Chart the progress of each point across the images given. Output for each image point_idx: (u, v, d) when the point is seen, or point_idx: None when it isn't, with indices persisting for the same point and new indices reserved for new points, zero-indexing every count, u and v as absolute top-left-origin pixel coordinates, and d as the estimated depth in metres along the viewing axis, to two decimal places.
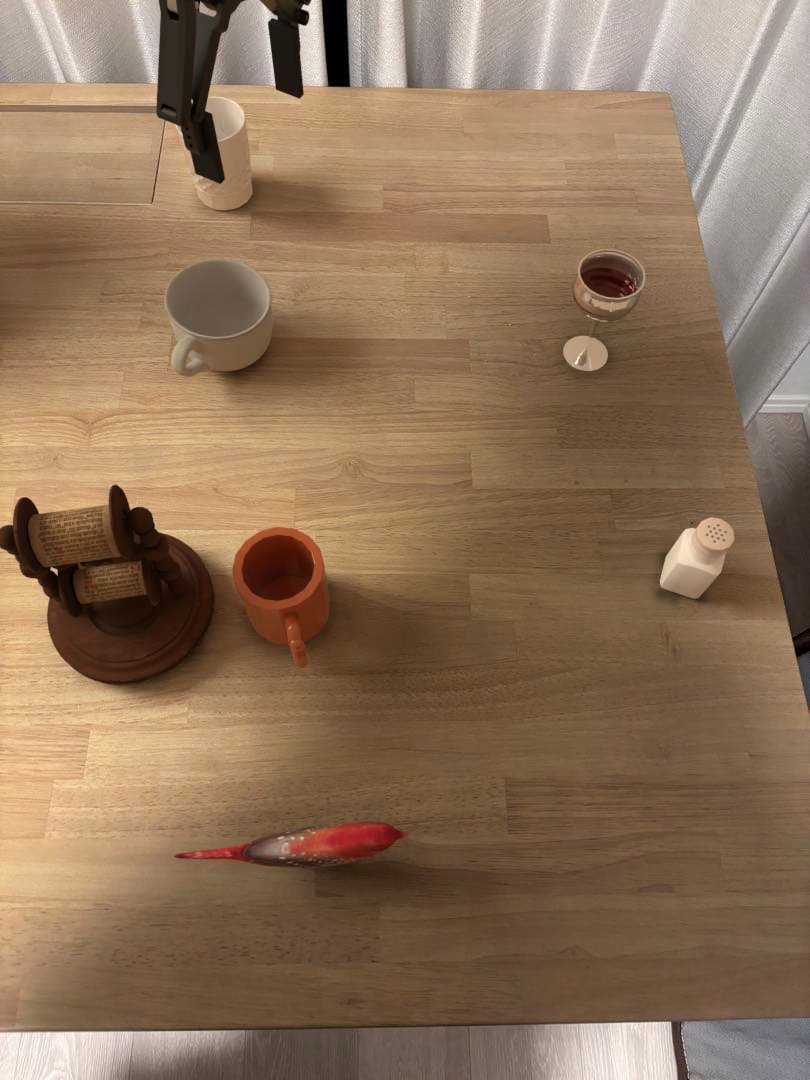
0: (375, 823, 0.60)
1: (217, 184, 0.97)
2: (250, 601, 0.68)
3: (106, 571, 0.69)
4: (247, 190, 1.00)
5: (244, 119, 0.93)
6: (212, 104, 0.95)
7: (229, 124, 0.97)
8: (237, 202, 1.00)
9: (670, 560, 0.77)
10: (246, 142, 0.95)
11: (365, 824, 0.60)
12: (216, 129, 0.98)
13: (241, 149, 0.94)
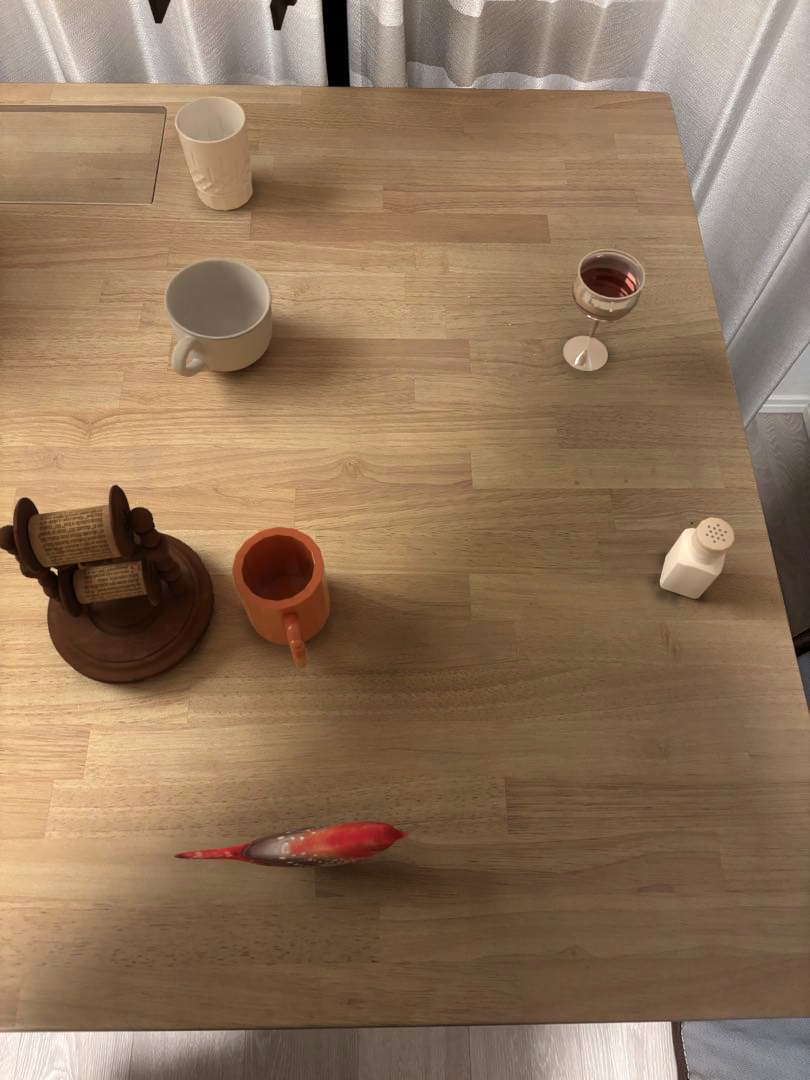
0: (375, 823, 0.60)
1: (217, 184, 0.97)
2: (250, 601, 0.68)
3: (106, 571, 0.69)
4: (247, 190, 1.00)
5: (244, 119, 0.93)
6: (212, 104, 0.95)
7: (229, 124, 0.97)
8: (237, 202, 1.00)
9: (670, 560, 0.77)
10: (246, 142, 0.95)
11: (365, 824, 0.60)
12: (216, 129, 0.98)
13: (241, 149, 0.94)
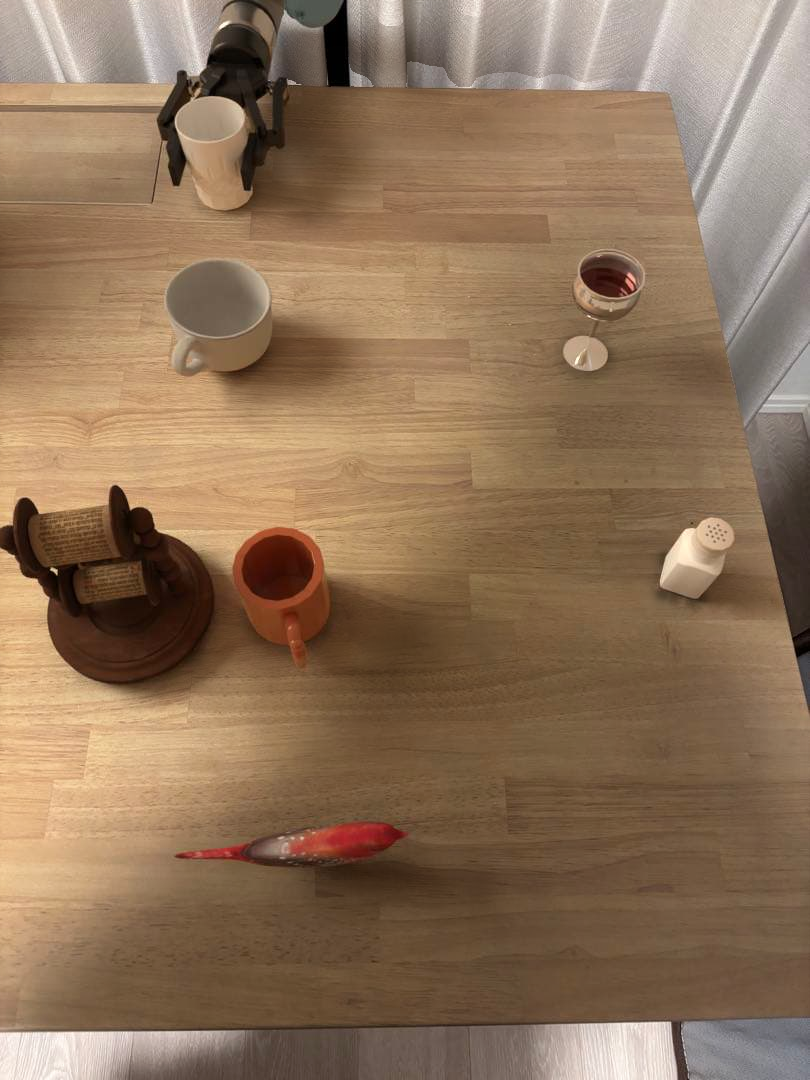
0: (375, 823, 0.60)
1: (217, 184, 0.97)
2: (250, 601, 0.68)
3: (106, 571, 0.69)
4: None
5: (244, 119, 0.93)
6: (212, 104, 0.95)
7: (229, 124, 0.97)
8: (237, 202, 1.00)
9: (670, 560, 0.77)
10: (246, 142, 0.95)
11: (365, 824, 0.60)
12: (216, 129, 0.98)
13: (241, 149, 0.94)
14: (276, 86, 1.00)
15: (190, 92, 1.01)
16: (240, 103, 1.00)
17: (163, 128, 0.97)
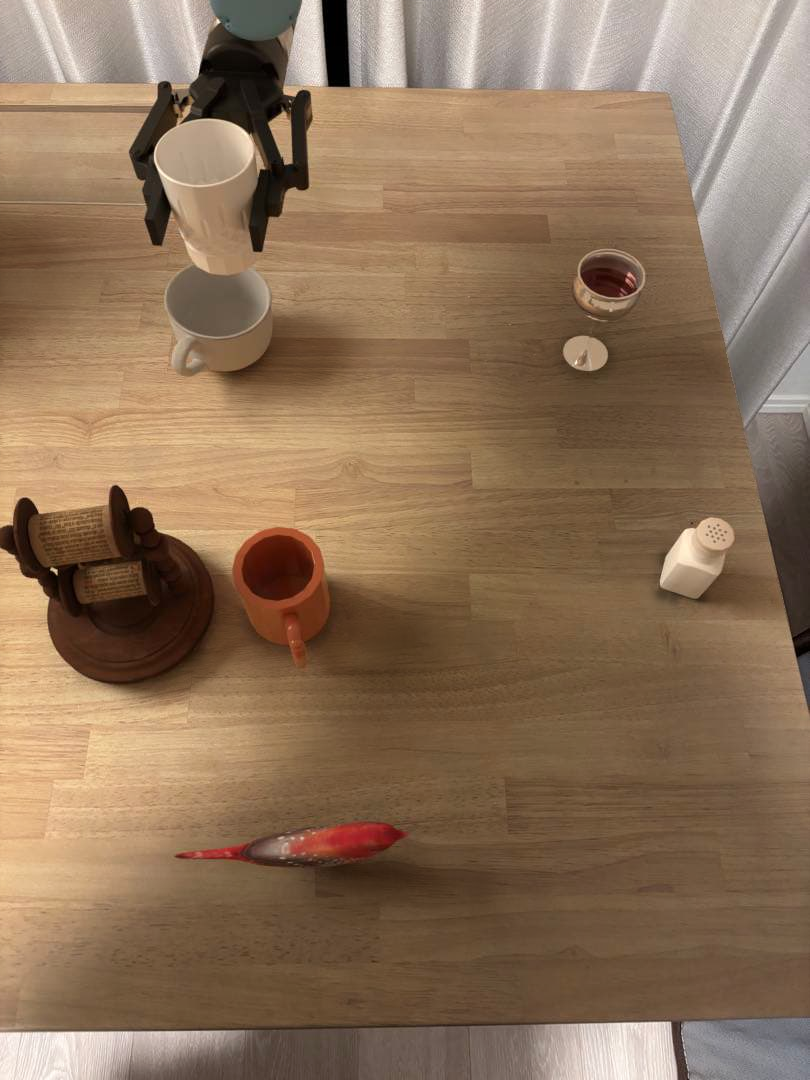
0: (375, 823, 0.60)
1: (215, 242, 0.69)
2: (250, 601, 0.68)
3: (106, 571, 0.69)
4: None
5: (253, 152, 0.65)
6: (207, 130, 0.67)
7: (231, 157, 0.69)
8: (243, 264, 0.72)
9: (670, 560, 0.77)
10: (256, 183, 0.67)
11: (365, 824, 0.60)
12: (213, 164, 0.70)
13: (249, 193, 0.66)
14: (296, 103, 0.72)
15: (176, 111, 0.73)
16: (246, 126, 0.73)
17: (138, 163, 0.69)
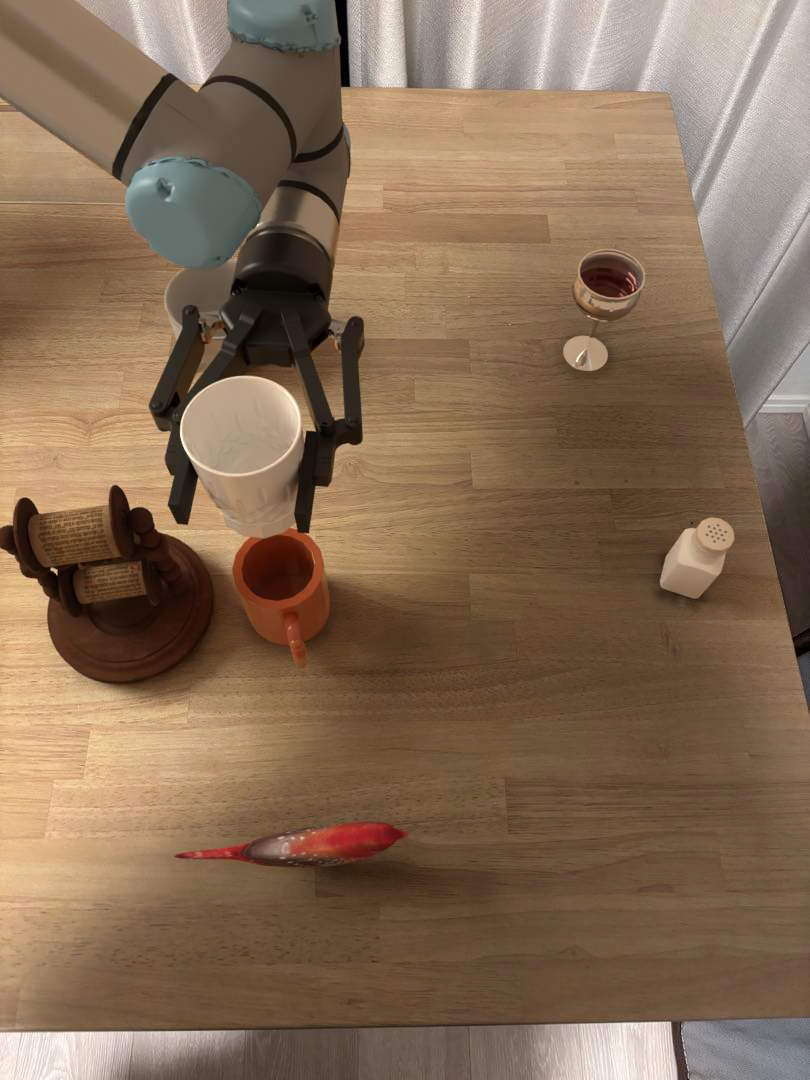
0: (375, 823, 0.60)
1: (252, 515, 0.57)
2: (250, 601, 0.68)
3: (106, 571, 0.69)
4: None
5: (300, 424, 0.54)
6: (243, 386, 0.56)
7: (271, 411, 0.58)
8: (283, 527, 0.60)
9: (670, 560, 0.77)
10: (302, 453, 0.55)
11: (365, 824, 0.60)
12: (249, 415, 0.58)
13: (294, 468, 0.55)
14: (347, 335, 0.60)
15: (204, 339, 0.62)
16: (287, 360, 0.61)
17: (160, 418, 0.58)
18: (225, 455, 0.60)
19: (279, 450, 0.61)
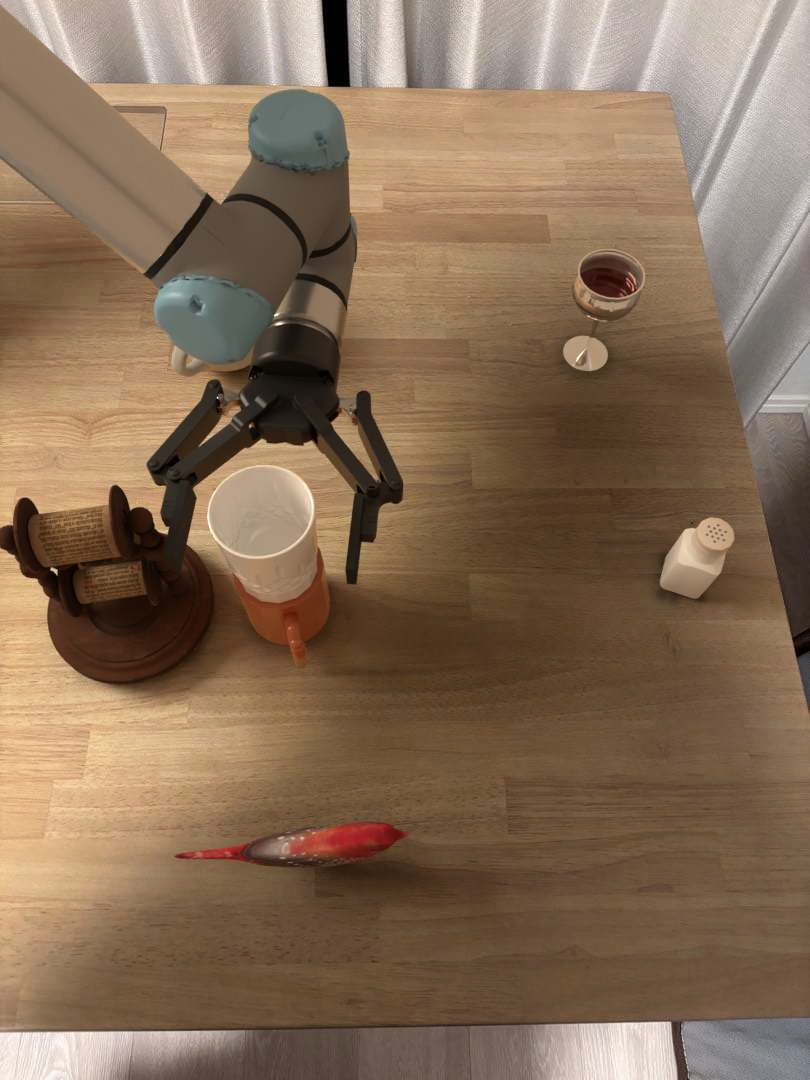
0: (375, 823, 0.60)
1: (269, 586, 0.64)
2: (250, 601, 0.68)
3: (106, 571, 0.69)
4: (311, 576, 0.67)
5: (313, 510, 0.61)
6: (263, 473, 0.63)
7: (287, 493, 0.65)
8: (296, 594, 0.67)
9: (670, 560, 0.77)
10: (314, 534, 0.62)
11: (365, 824, 0.60)
12: (266, 496, 0.65)
13: (307, 548, 0.62)
14: (360, 409, 0.67)
15: (220, 412, 0.69)
16: (299, 440, 0.68)
17: (153, 476, 0.65)
18: (245, 529, 0.67)
19: (293, 524, 0.68)
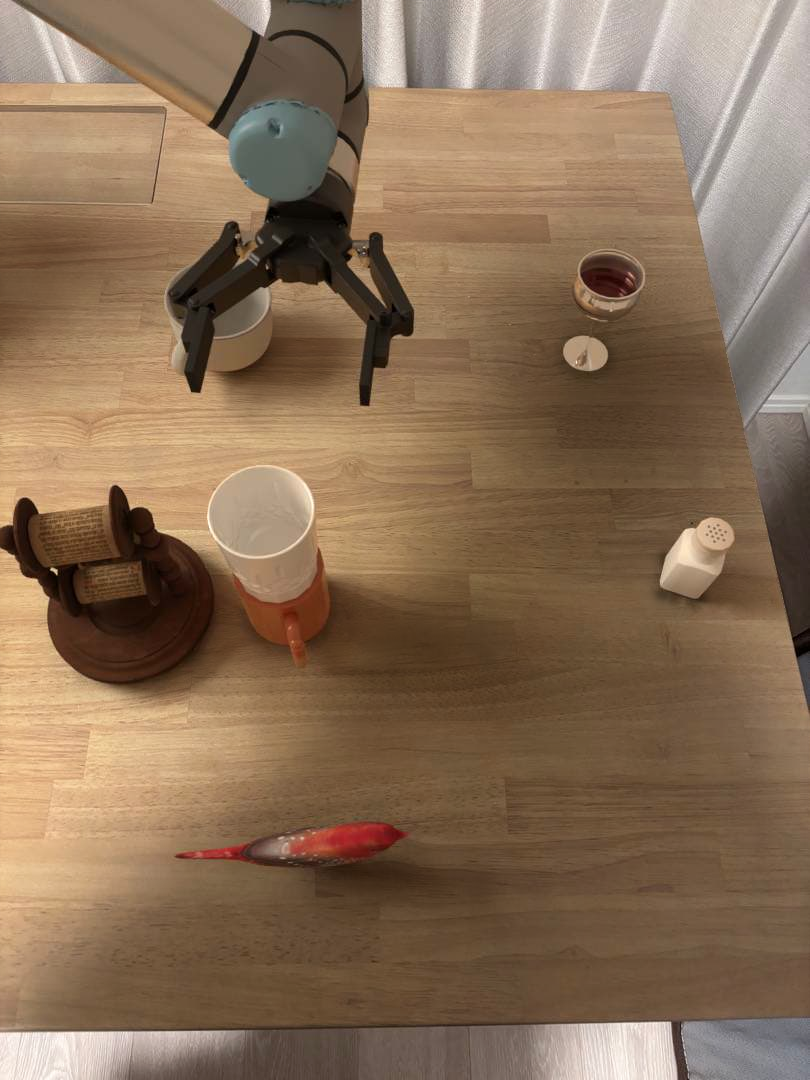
0: (375, 823, 0.60)
1: (269, 586, 0.64)
2: (250, 601, 0.68)
3: (106, 571, 0.69)
4: (311, 576, 0.67)
5: (313, 510, 0.61)
6: (263, 473, 0.63)
7: (287, 493, 0.65)
8: (296, 594, 0.67)
9: (670, 560, 0.77)
10: (314, 534, 0.62)
11: (365, 824, 0.60)
12: (266, 496, 0.65)
13: (307, 548, 0.62)
14: (373, 248, 0.70)
15: (237, 253, 0.71)
16: (314, 278, 0.70)
17: (174, 305, 0.68)
18: (245, 529, 0.67)
19: (293, 524, 0.68)
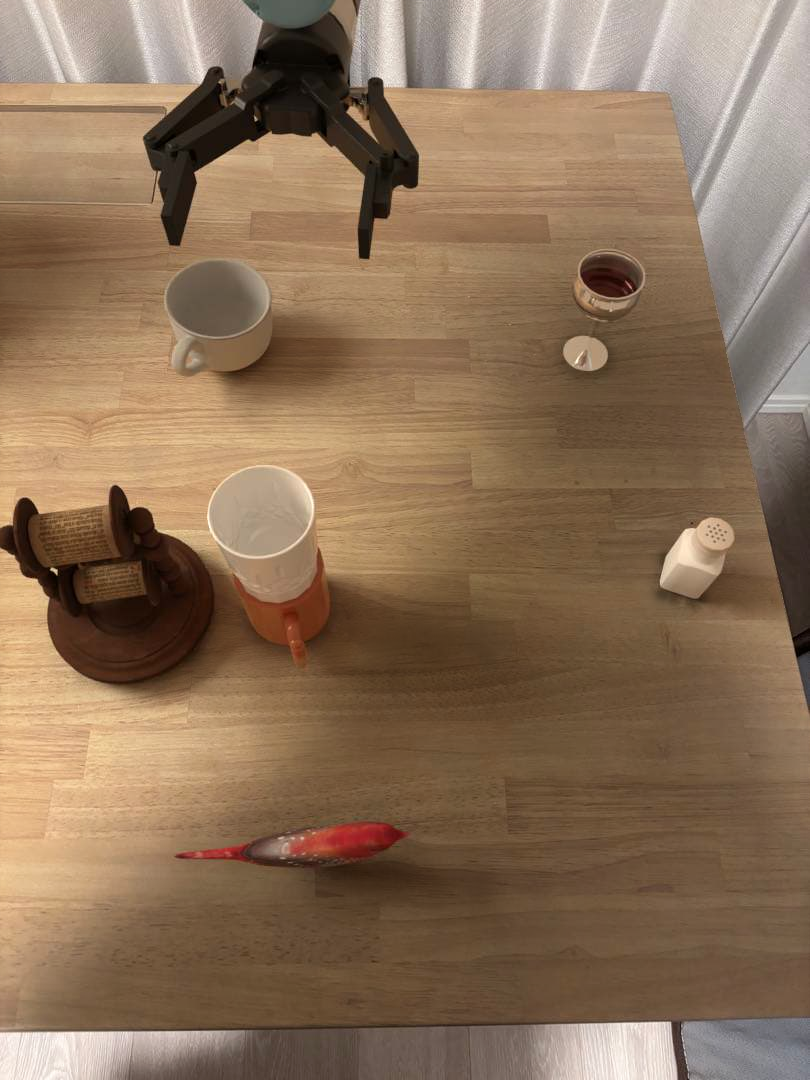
0: (375, 823, 0.60)
1: (269, 586, 0.64)
2: (250, 601, 0.68)
3: (106, 571, 0.69)
4: (311, 576, 0.67)
5: (313, 510, 0.61)
6: (263, 473, 0.63)
7: (287, 493, 0.65)
8: (296, 594, 0.67)
9: (670, 560, 0.77)
10: (314, 534, 0.62)
11: (365, 824, 0.60)
12: (266, 496, 0.65)
13: (307, 548, 0.62)
14: (372, 93, 0.63)
15: (222, 103, 0.64)
16: (307, 127, 0.63)
17: (151, 152, 0.60)
18: (245, 529, 0.67)
19: (293, 524, 0.68)
